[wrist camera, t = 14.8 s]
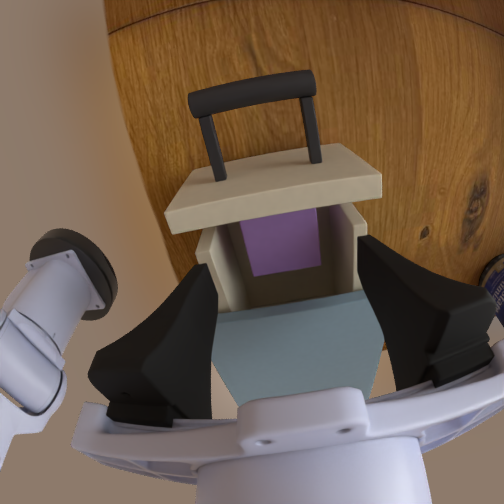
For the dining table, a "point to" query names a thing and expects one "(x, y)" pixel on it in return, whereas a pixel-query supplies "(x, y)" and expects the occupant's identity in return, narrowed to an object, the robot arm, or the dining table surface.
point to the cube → (282, 242)
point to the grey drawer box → (298, 347)
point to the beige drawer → (273, 199)
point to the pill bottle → (495, 284)
